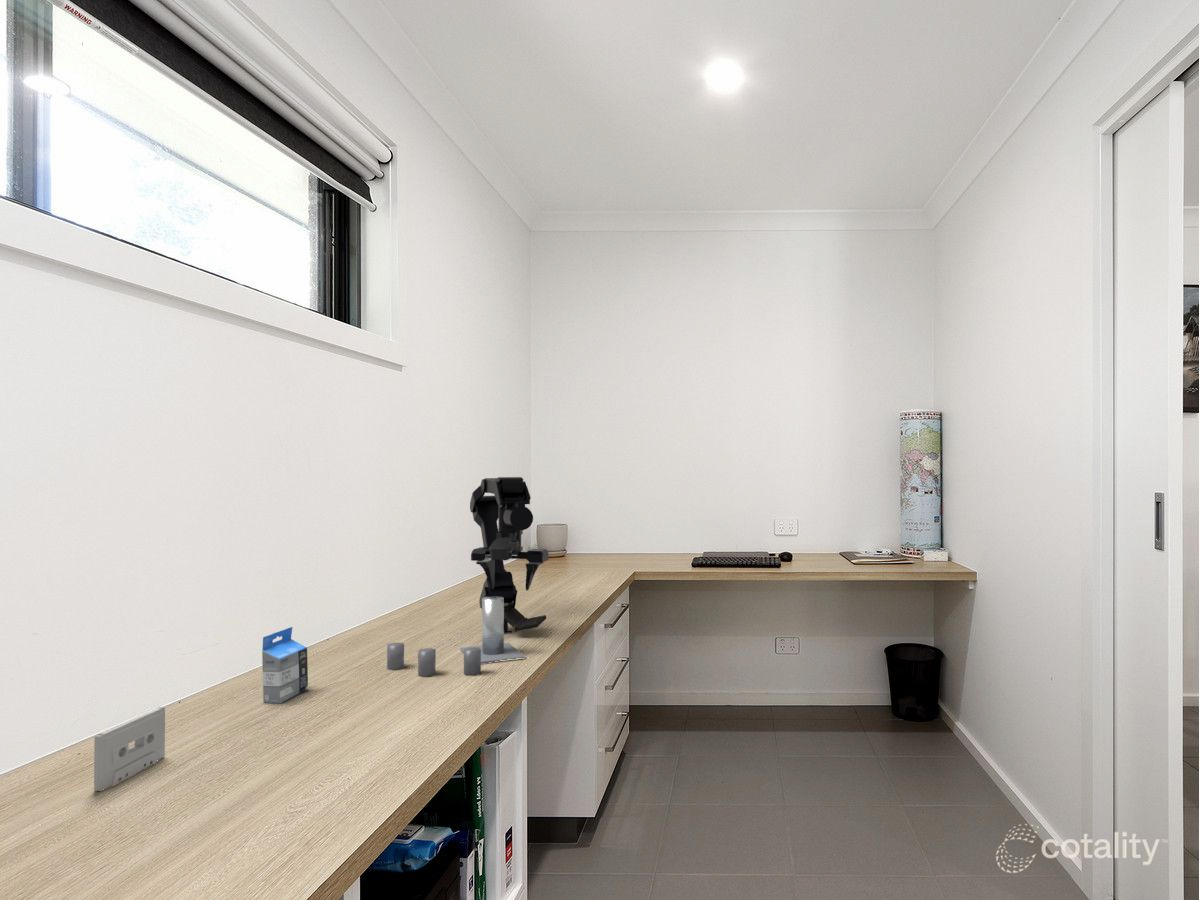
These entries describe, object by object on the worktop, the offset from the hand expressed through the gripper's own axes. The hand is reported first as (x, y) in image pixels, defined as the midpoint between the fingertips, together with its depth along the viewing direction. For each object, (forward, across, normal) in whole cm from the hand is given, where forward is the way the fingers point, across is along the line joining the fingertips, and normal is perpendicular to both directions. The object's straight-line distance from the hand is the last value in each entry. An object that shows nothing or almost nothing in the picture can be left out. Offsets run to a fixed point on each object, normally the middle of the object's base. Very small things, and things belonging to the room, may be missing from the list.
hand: (509, 589), depth 181 cm
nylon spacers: (+13, -7, -29) cm, 32 cm away
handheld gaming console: (+11, +1, +9) cm, 15 cm away
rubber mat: (+13, 0, -12) cm, 18 cm away
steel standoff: (+12, 0, -12) cm, 17 cm away
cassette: (+13, -27, -84) cm, 90 cm away
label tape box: (+13, -27, -49) cm, 58 cm away
